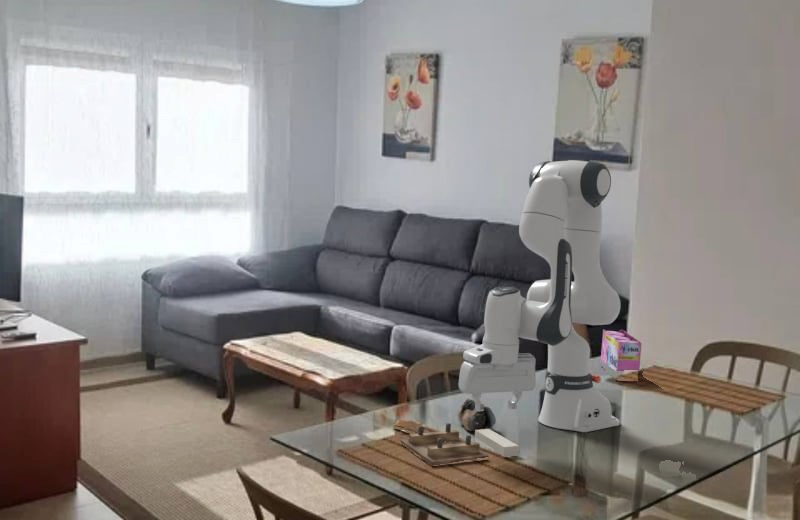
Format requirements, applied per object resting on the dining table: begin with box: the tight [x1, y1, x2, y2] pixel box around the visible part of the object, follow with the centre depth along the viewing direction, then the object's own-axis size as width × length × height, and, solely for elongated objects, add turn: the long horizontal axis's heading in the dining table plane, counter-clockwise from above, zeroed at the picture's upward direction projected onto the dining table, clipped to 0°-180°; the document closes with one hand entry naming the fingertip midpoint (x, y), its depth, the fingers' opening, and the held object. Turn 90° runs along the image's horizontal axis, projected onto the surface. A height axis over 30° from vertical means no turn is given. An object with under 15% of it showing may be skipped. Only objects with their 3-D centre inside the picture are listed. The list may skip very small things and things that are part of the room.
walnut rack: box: [399, 422, 489, 467], centre depth 210 cm, size 15×17×5 cm
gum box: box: [600, 328, 642, 371], centre depth 302 cm, size 24×8×14 cm, turn 1°
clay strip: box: [474, 429, 519, 457], centre depth 215 cm, size 4×14×3 cm, turn 25°
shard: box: [392, 419, 423, 434], centre depth 226 cm, size 11×8×2 cm
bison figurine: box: [457, 398, 497, 432], centre depth 230 cm, size 12×7×10 cm
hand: (495, 409), depth 214 cm, fingers open, 8 cm apart
